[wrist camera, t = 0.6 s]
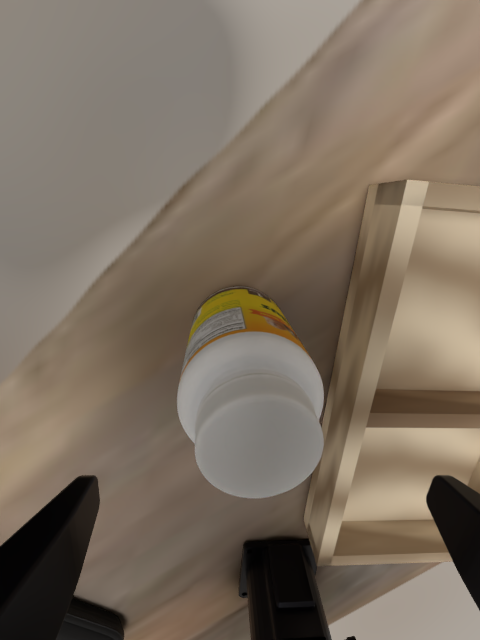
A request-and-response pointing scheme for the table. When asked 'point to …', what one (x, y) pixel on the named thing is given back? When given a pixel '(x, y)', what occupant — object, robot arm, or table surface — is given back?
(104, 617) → the carrying case or bag
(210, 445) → the supplement bottle
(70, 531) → the robot arm
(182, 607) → the table surface
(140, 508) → the table surface
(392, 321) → the wooden divided tray
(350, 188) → the table surface
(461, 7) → the table surface
